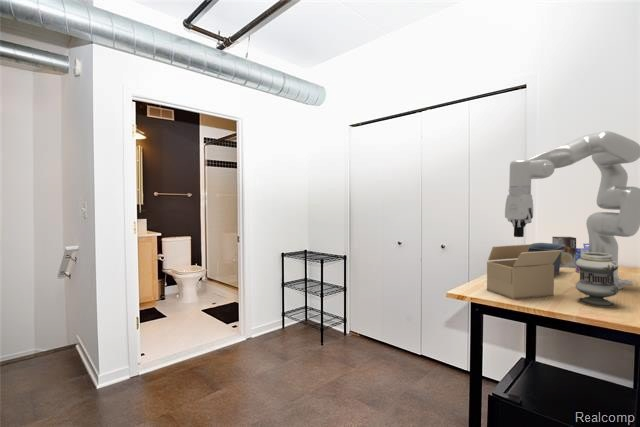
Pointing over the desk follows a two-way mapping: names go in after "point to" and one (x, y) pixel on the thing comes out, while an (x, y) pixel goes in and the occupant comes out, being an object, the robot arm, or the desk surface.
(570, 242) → the coffee box
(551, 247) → the storage bin
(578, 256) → the ink cartridge box
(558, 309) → the desk surface
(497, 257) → the back flap
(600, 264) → the apothecary jar
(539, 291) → the carton
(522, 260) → the front flap
